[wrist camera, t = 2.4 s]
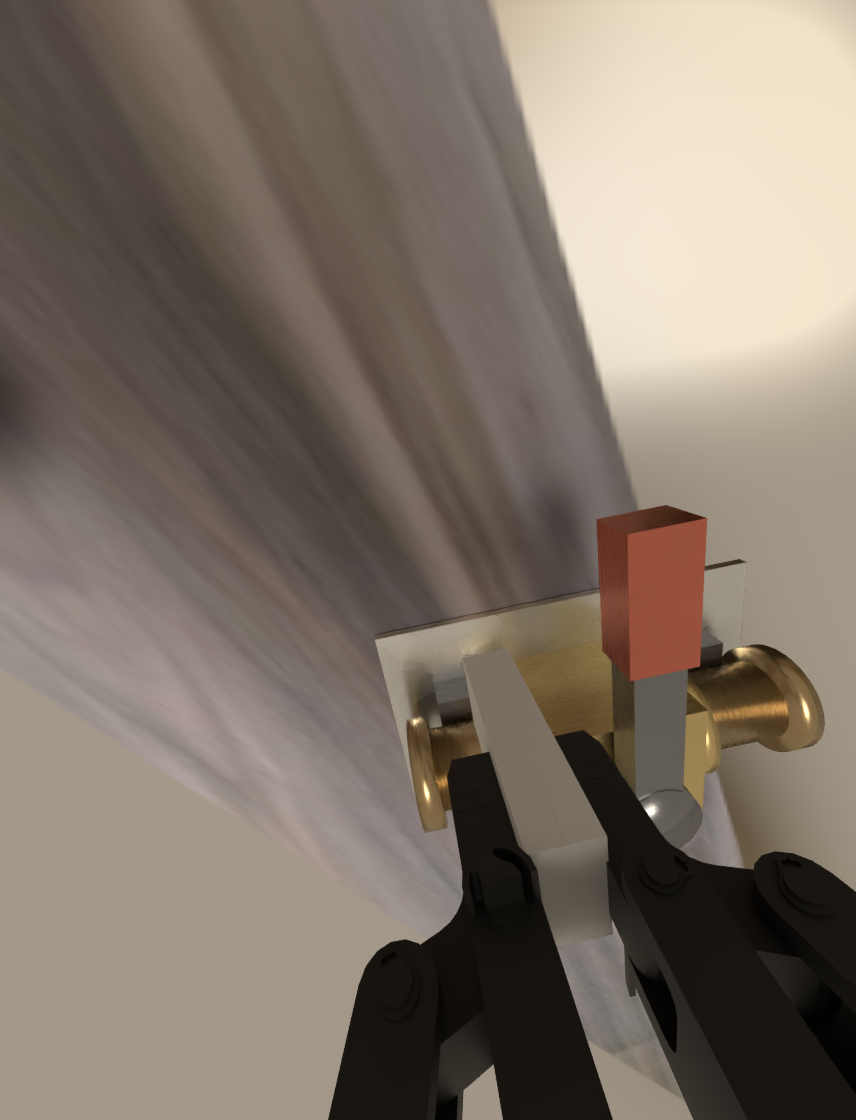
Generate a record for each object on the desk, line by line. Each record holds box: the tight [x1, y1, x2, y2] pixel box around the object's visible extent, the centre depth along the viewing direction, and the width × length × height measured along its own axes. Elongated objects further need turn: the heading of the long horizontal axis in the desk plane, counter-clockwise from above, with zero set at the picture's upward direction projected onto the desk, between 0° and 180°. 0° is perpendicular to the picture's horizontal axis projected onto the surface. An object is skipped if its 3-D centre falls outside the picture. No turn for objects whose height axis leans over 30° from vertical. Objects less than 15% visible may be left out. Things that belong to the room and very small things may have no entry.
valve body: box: [375, 559, 825, 833], centre depth 25 cm, size 24×14×8 cm, turn 100°
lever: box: [597, 505, 707, 849], centre depth 18 cm, size 16×4×2 cm, turn 10°
